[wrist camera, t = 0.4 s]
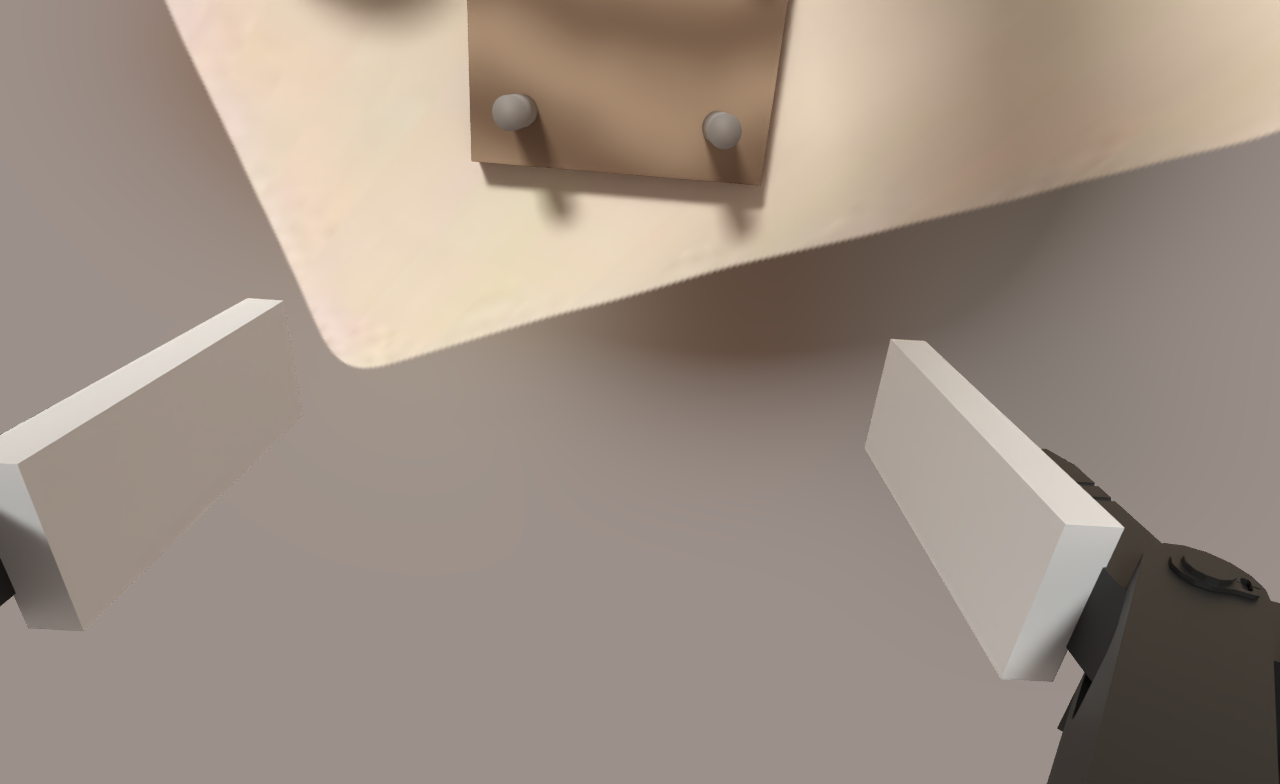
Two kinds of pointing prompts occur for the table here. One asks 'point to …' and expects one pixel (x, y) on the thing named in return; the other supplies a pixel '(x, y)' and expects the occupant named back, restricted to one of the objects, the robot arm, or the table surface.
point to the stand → (625, 85)
